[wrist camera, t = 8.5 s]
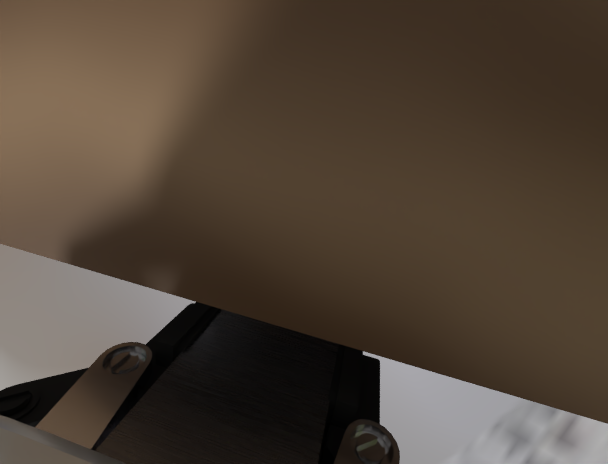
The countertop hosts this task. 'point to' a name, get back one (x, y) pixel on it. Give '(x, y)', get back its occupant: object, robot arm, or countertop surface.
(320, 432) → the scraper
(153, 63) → the low shelf
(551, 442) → the countertop surface
